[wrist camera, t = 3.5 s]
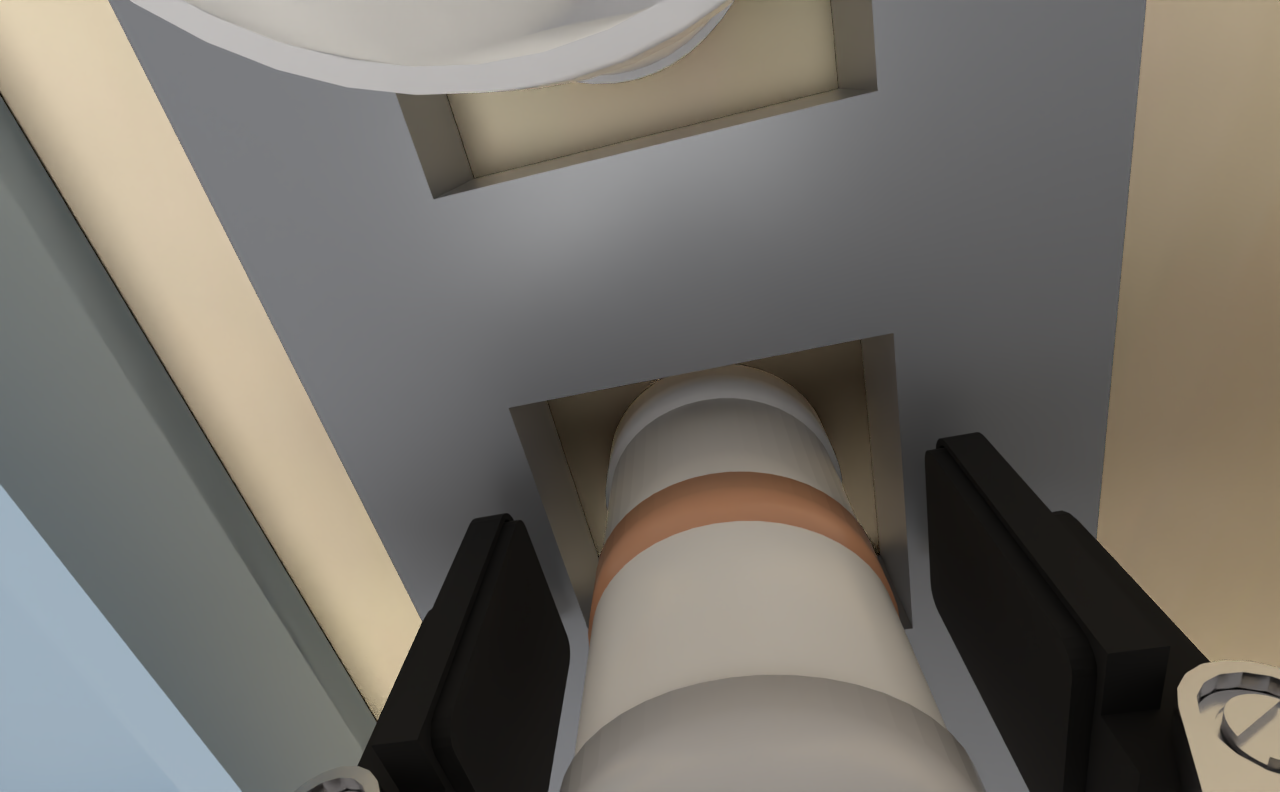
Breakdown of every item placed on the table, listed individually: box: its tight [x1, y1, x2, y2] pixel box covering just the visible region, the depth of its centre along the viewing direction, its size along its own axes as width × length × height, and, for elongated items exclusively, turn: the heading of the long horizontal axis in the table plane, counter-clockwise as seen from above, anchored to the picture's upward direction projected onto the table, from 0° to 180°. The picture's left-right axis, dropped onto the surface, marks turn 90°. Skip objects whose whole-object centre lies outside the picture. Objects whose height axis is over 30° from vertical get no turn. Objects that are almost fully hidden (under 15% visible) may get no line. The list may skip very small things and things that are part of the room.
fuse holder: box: [108, 0, 1146, 792], centre depth 12 cm, size 12×28×2 cm, turn 13°
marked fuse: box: [560, 364, 986, 792], centre depth 9 cm, size 4×4×8 cm
